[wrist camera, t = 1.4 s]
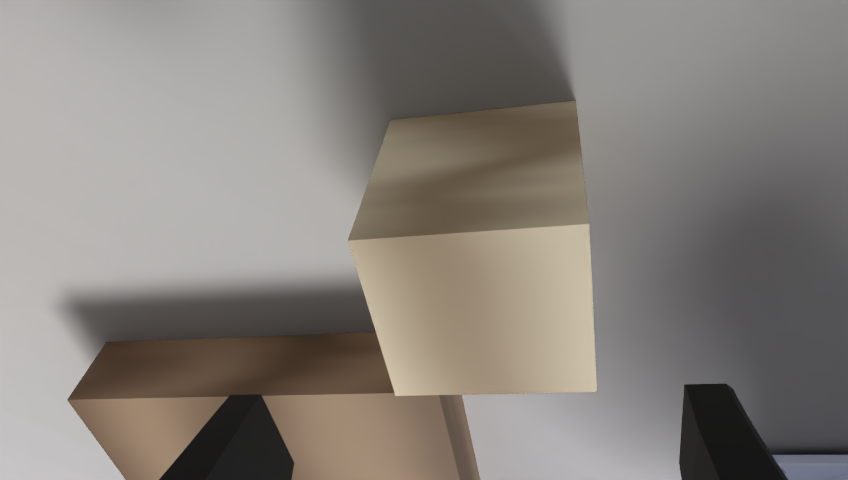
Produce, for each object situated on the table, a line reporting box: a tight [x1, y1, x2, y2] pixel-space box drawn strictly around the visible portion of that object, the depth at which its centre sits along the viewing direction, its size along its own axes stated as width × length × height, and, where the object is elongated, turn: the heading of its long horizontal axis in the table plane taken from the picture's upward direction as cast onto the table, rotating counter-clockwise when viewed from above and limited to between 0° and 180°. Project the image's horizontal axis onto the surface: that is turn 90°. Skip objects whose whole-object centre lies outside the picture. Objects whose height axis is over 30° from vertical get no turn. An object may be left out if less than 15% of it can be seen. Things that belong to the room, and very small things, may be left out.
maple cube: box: [348, 100, 597, 396], centre depth 16 cm, size 4×4×5 cm
